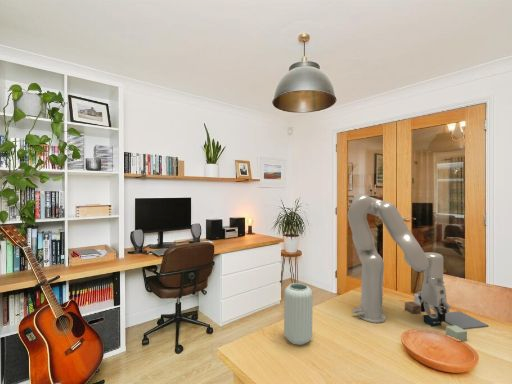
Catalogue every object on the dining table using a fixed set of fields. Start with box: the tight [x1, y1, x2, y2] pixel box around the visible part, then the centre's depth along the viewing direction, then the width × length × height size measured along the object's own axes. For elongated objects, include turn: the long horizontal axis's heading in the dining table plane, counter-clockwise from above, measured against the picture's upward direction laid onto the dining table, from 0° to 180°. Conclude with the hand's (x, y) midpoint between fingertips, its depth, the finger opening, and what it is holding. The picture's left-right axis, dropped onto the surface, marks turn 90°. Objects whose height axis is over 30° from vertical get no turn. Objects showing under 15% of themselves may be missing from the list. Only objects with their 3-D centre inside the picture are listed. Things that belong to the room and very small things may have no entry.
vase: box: [283, 282, 313, 346], centre depth 111 cm, size 12×12×22 cm
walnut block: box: [404, 301, 422, 315], centre depth 137 cm, size 5×5×4 cm
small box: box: [413, 292, 432, 309], centre depth 145 cm, size 8×8×5 cm
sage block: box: [445, 325, 468, 342], centre depth 113 cm, size 5×5×4 cm
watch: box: [422, 301, 442, 328], centre depth 125 cm, size 6×8×11 cm
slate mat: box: [433, 310, 489, 330], centre depth 128 cm, size 16×14×1 cm
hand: (432, 316), depth 125 cm, fingers open, 9 cm apart
